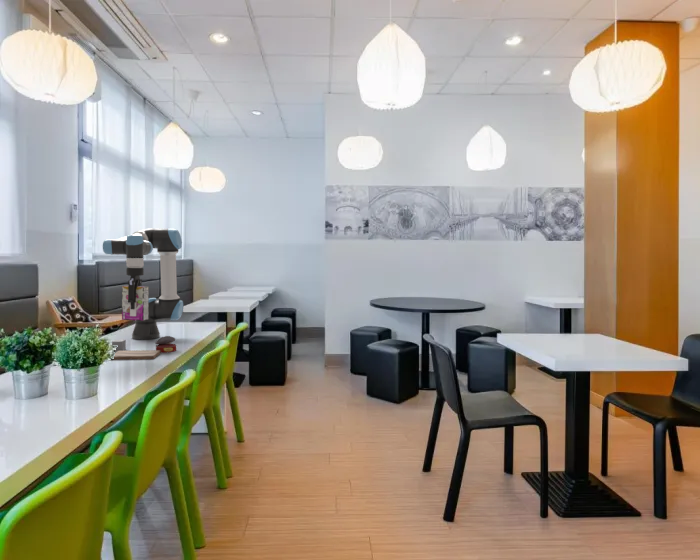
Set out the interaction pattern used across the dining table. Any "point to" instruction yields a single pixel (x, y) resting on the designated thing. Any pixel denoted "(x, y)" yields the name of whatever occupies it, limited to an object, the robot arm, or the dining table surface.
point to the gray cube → (120, 344)
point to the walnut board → (136, 354)
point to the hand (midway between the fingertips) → (135, 315)
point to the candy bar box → (141, 303)
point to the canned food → (164, 346)
